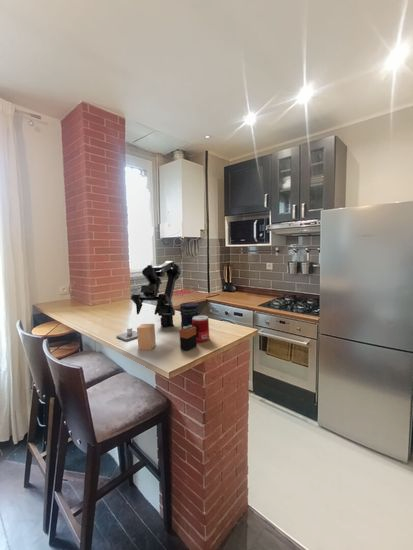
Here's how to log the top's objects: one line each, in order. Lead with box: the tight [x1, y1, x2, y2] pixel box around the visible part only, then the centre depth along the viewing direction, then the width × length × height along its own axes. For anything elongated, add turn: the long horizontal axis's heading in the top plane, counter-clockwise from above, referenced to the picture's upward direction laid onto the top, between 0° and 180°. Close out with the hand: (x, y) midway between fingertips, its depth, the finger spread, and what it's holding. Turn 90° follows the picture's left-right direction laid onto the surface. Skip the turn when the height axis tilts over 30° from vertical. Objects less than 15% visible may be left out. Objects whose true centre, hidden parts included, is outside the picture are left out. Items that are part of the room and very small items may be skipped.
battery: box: [178, 325, 198, 352], centre depth 115 cm, size 4×7×10 cm, turn 143°
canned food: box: [192, 314, 210, 343], centre depth 124 cm, size 8×8×11 cm
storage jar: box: [179, 301, 200, 329], centre depth 137 cm, size 10×10×15 cm
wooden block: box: [136, 323, 157, 351], centre depth 118 cm, size 6×6×10 cm
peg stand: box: [115, 327, 138, 342], centre depth 134 cm, size 10×10×4 cm
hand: (146, 314), depth 125 cm, fingers open, 9 cm apart
